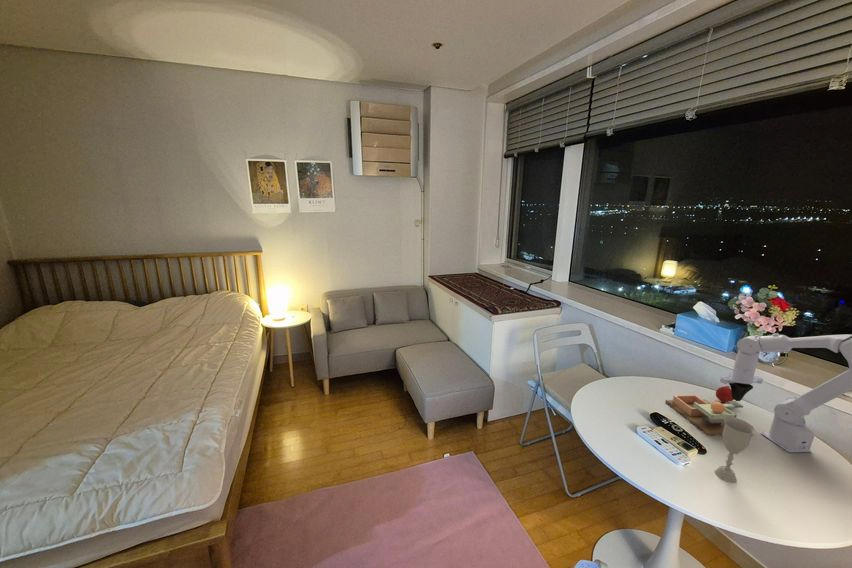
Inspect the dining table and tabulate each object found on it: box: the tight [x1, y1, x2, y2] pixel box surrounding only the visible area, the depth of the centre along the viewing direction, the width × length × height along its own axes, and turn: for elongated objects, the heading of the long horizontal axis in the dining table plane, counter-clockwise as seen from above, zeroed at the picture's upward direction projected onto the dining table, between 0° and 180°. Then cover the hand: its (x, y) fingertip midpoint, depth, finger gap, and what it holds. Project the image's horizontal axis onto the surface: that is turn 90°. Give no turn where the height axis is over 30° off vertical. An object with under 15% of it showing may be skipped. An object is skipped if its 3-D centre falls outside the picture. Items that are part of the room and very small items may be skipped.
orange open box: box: [672, 394, 707, 416], centre depth 132 cm, size 9×9×3 cm
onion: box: [715, 384, 735, 404], centre depth 137 cm, size 6×6×8 cm
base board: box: [665, 398, 725, 436], centre depth 128 cm, size 20×17×5 cm
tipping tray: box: [693, 400, 744, 423], centre depth 123 cm, size 10×18×3 cm, turn 92°
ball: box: [711, 401, 725, 413], centre depth 121 cm, size 4×4×4 cm
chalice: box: [714, 417, 756, 484], centre depth 99 cm, size 7×7×18 cm
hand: (736, 399), depth 126 cm, fingers closed
